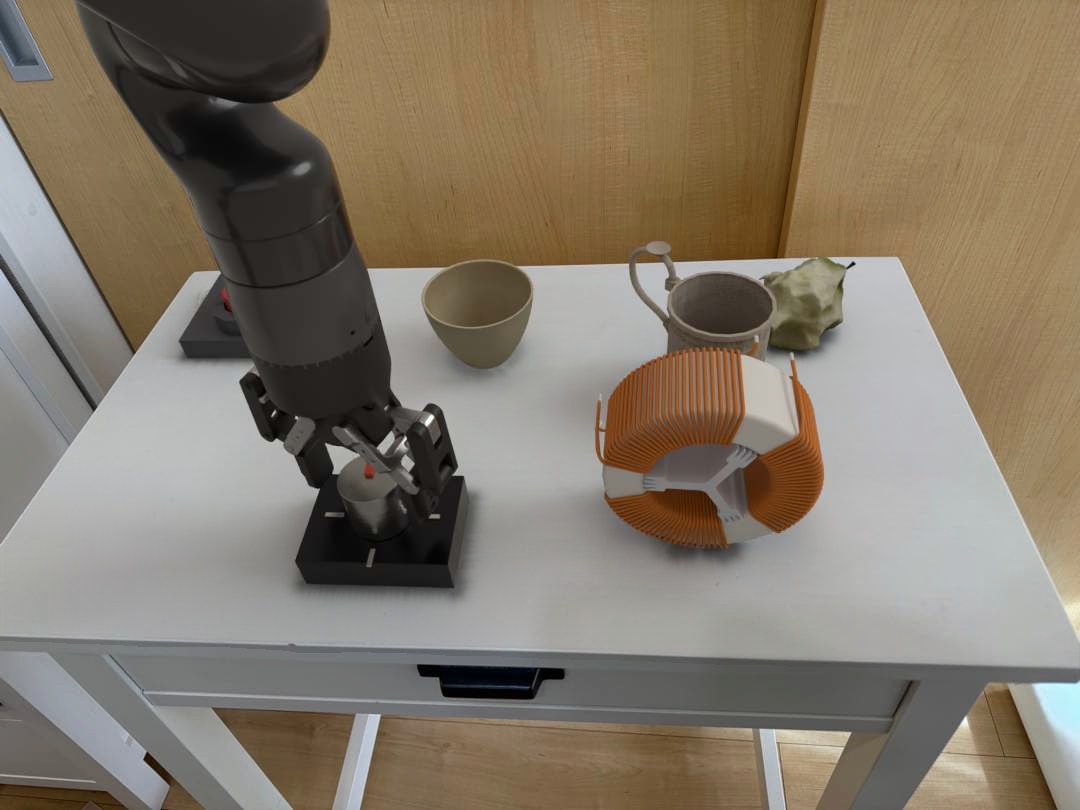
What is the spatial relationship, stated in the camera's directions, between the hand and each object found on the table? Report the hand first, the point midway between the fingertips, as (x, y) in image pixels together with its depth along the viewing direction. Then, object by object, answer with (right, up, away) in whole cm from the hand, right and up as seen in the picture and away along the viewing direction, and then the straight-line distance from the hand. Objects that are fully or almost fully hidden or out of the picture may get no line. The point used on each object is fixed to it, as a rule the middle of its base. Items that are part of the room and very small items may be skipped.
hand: (372, 496), depth 54 cm
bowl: (+7, +11, +19) cm, 23 cm away
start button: (-17, +17, +21) cm, 31 cm away
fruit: (+36, +14, +18) cm, 42 cm away
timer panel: (+1, -4, +4) cm, 5 cm away
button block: (-18, +15, +24) cm, 33 cm away
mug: (+25, +9, +14) cm, 30 cm away
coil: (+24, -2, +4) cm, 24 cm away
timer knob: (0, -2, +2) cm, 2 cm away
